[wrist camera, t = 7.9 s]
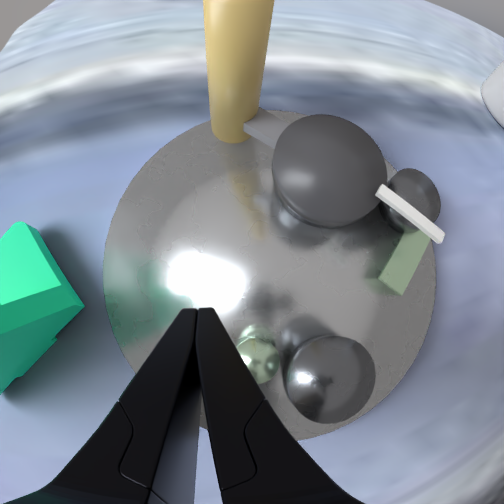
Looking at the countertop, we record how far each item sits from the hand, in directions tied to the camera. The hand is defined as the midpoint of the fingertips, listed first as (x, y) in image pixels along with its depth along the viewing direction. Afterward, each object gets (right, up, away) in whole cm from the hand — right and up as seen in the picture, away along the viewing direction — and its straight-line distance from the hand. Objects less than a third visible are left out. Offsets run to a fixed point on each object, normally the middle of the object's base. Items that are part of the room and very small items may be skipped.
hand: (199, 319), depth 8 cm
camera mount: (-16, -3, +10) cm, 19 cm away
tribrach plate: (+3, +1, +12) cm, 12 cm away
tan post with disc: (+6, +7, +12) cm, 15 cm away
